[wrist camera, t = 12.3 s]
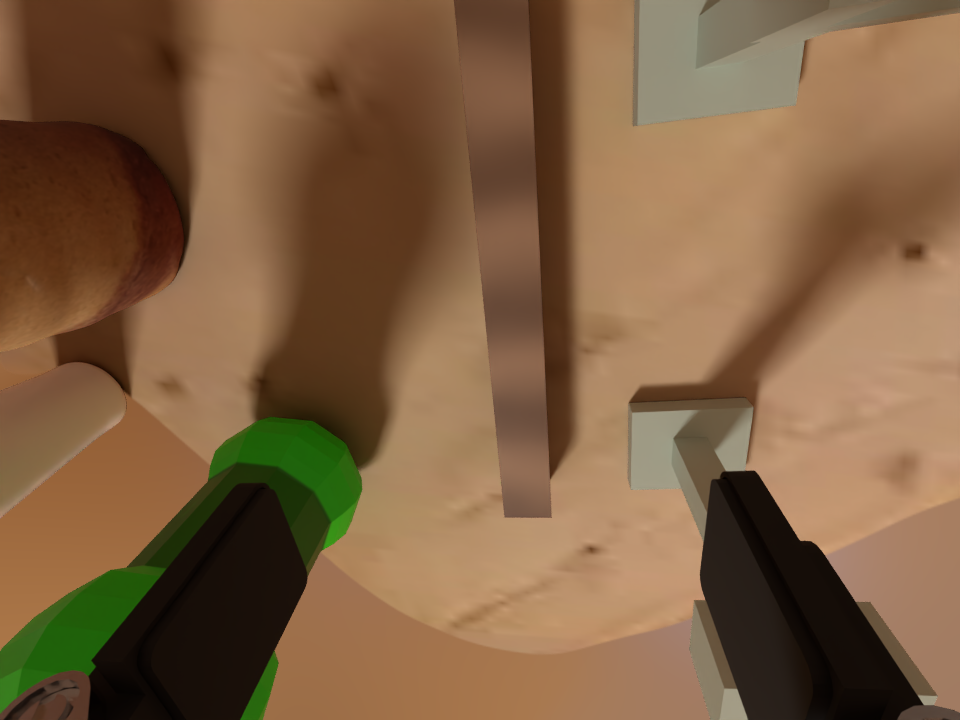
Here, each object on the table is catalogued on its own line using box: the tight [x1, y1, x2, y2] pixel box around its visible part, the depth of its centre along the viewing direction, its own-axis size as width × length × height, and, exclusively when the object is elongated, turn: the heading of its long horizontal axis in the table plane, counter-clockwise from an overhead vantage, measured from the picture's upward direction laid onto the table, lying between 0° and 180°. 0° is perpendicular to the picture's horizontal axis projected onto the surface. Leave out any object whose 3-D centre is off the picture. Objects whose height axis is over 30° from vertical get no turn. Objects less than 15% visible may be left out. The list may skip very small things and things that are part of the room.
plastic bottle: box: [0, 417, 362, 720], centre depth 24 cm, size 10×10×25 cm
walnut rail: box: [454, 0, 552, 518], centre depth 27 cm, size 28×3×4 cm, turn 6°
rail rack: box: [628, 0, 960, 720], centre depth 19 cm, size 28×7×17 cm, turn 7°
